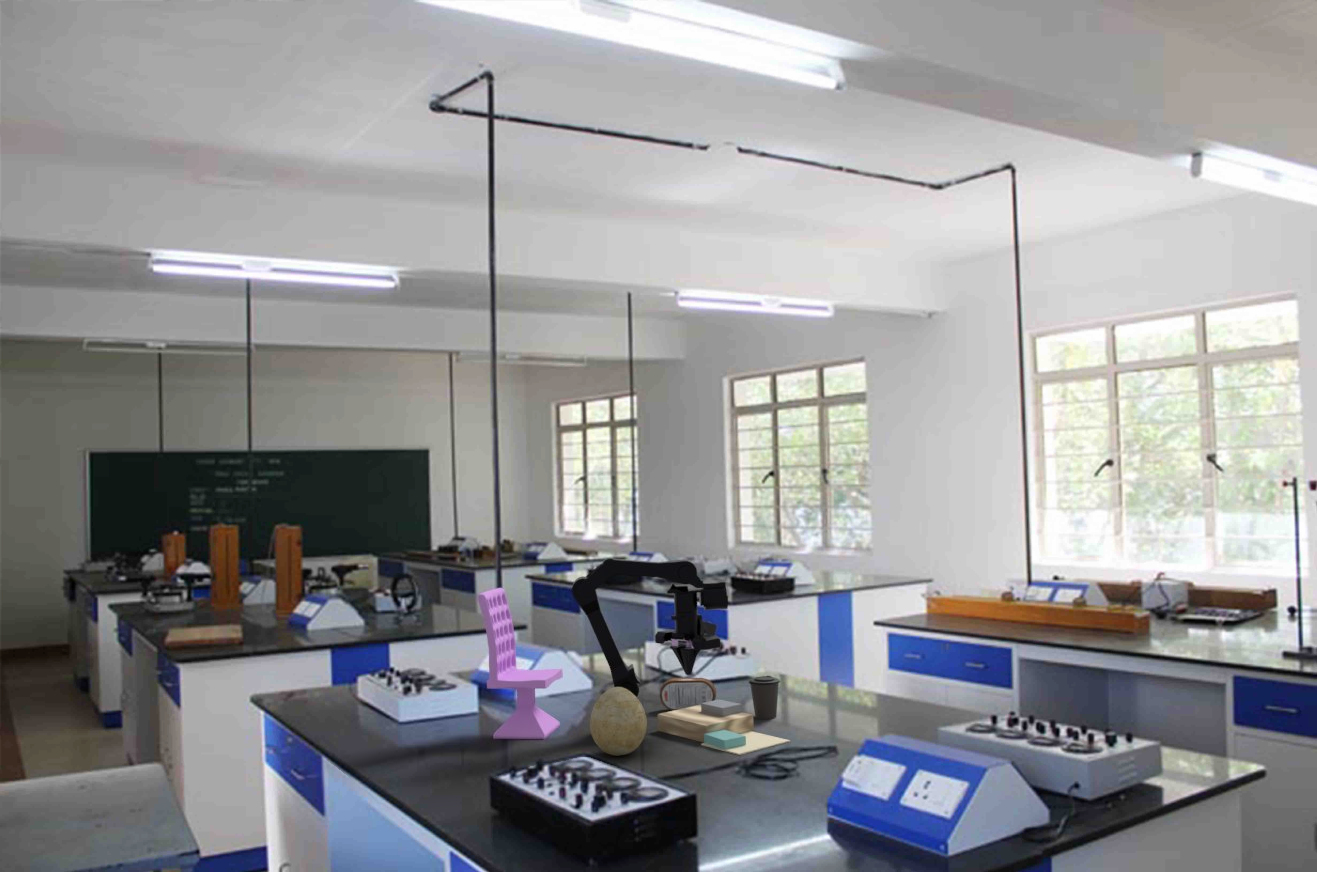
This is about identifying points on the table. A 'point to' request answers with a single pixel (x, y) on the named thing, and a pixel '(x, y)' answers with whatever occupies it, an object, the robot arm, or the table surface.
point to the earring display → (514, 672)
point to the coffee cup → (765, 696)
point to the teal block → (725, 739)
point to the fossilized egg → (618, 722)
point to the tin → (686, 692)
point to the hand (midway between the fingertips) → (688, 674)
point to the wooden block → (702, 723)
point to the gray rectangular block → (721, 707)
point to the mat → (753, 743)
